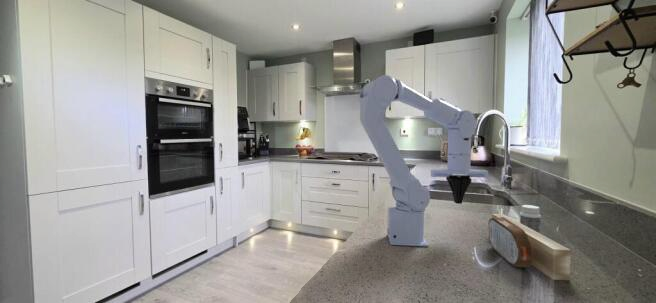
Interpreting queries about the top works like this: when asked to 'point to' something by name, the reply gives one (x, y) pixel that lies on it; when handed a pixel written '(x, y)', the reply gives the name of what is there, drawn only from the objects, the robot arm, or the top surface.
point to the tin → (510, 242)
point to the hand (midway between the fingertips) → (457, 202)
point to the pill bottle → (531, 217)
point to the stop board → (546, 253)
